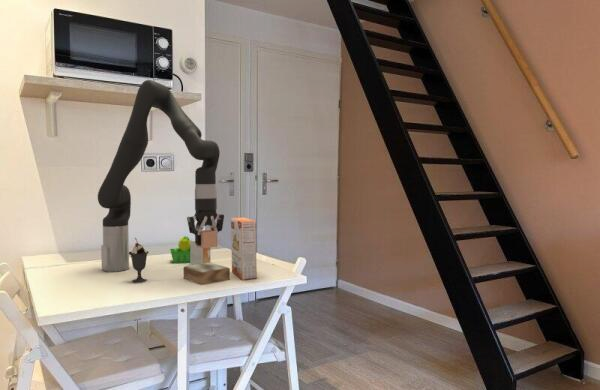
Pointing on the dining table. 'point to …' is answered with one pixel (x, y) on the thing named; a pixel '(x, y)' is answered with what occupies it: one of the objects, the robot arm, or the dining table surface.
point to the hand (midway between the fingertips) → (206, 244)
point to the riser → (206, 273)
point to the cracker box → (243, 248)
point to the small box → (198, 254)
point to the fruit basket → (182, 251)
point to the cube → (208, 239)
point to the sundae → (138, 261)
